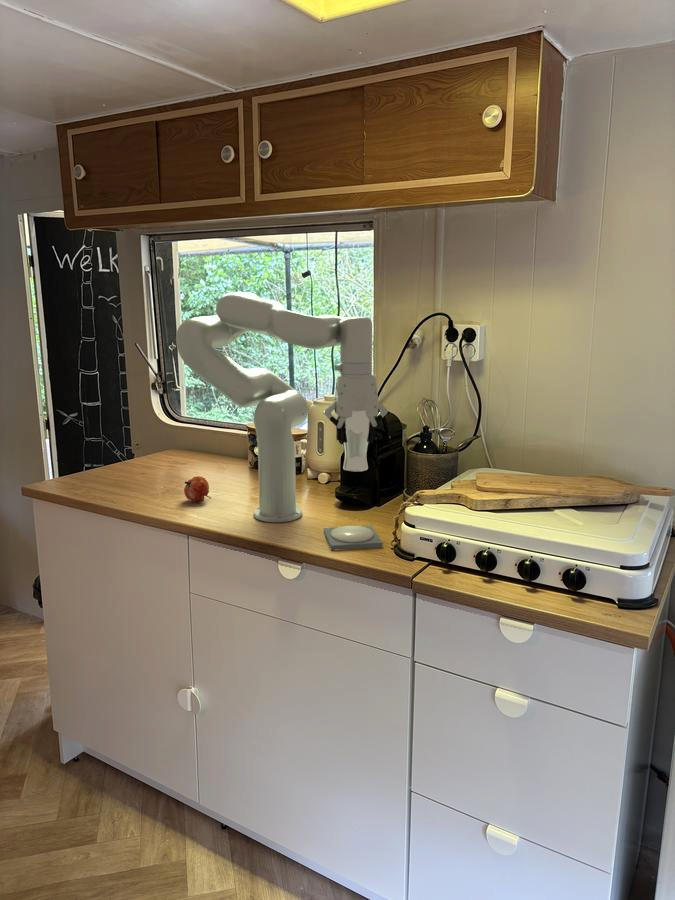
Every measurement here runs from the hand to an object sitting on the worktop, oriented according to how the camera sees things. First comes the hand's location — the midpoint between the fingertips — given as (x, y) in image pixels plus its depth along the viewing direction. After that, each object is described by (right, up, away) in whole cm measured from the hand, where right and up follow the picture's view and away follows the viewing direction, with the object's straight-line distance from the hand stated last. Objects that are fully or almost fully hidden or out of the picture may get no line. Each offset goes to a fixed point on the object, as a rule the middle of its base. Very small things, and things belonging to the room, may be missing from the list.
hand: (355, 441), depth 171 cm
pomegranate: (-43, -17, +25) cm, 53 cm away
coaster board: (-1, -23, -5) cm, 24 cm away
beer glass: (0, -7, +2) cm, 7 cm away
